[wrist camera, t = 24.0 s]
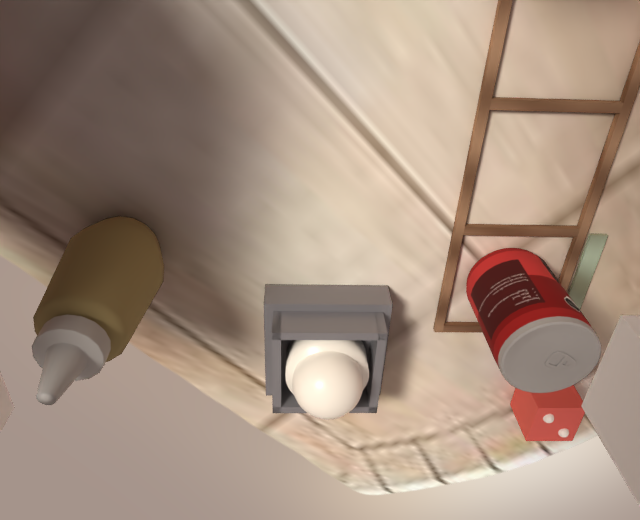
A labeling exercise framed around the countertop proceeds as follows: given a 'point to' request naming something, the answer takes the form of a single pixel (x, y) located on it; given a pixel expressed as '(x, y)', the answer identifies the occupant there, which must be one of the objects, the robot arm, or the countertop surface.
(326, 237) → the countertop surface
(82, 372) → the squeeze bottle
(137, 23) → the countertop surface
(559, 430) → the red die
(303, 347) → the dome
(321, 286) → the dome base
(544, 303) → the canned food
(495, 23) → the frame
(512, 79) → the countertop surface
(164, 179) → the countertop surface
